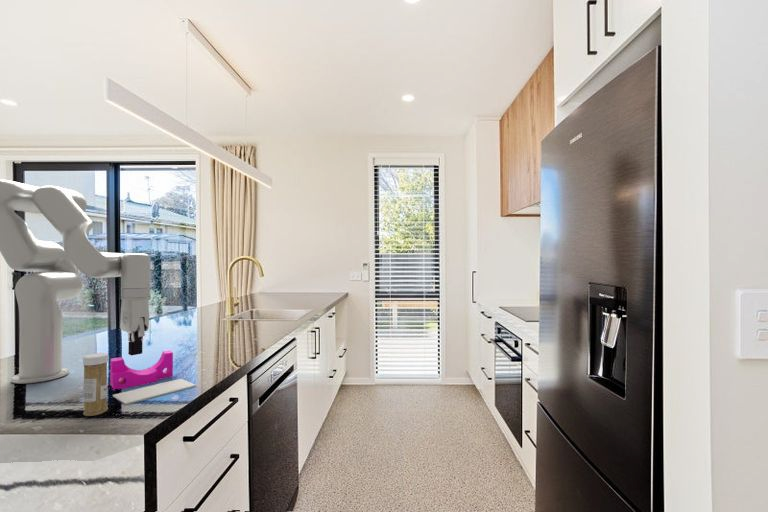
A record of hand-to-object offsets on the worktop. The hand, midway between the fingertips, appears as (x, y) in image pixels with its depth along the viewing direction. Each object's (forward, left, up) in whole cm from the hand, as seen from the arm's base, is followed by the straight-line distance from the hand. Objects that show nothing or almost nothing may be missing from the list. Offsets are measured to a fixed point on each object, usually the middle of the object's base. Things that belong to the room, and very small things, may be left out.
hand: (135, 354), depth 114 cm
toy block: (+8, -1, -7) cm, 10 cm away
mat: (+19, -2, -7) cm, 20 cm away
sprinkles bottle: (+24, -16, -7) cm, 29 cm away
